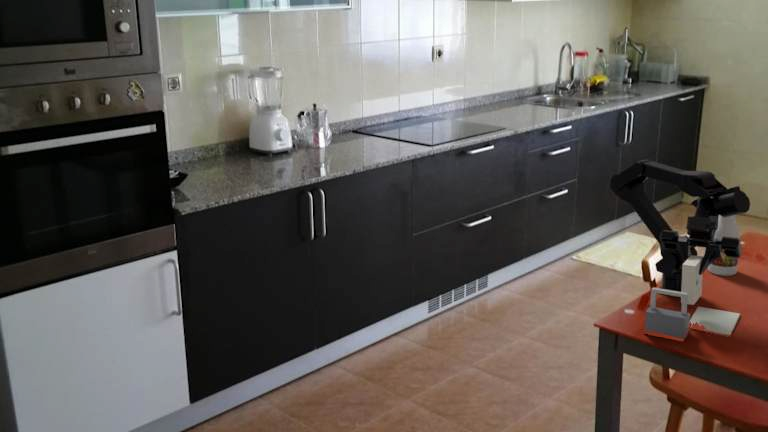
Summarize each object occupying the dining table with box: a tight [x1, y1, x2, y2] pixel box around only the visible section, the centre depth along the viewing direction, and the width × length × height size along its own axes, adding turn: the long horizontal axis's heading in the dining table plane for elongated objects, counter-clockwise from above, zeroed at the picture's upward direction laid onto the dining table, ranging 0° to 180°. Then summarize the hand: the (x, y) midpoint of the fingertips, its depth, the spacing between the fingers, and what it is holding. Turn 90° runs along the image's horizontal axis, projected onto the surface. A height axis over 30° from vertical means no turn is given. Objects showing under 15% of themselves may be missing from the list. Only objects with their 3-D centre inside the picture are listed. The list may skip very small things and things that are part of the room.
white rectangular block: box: [680, 255, 704, 306], centre depth 195 cm, size 8×3×10 cm, turn 146°
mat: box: [690, 306, 741, 336], centre depth 196 cm, size 14×10×1 cm
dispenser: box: [644, 287, 691, 339], centre depth 189 cm, size 6×9×11 cm, turn 58°
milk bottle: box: [707, 215, 741, 277], centre depth 227 cm, size 8×8×20 cm
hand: (692, 273), depth 195 cm, fingers closed on white rectangular block, 3 cm apart
